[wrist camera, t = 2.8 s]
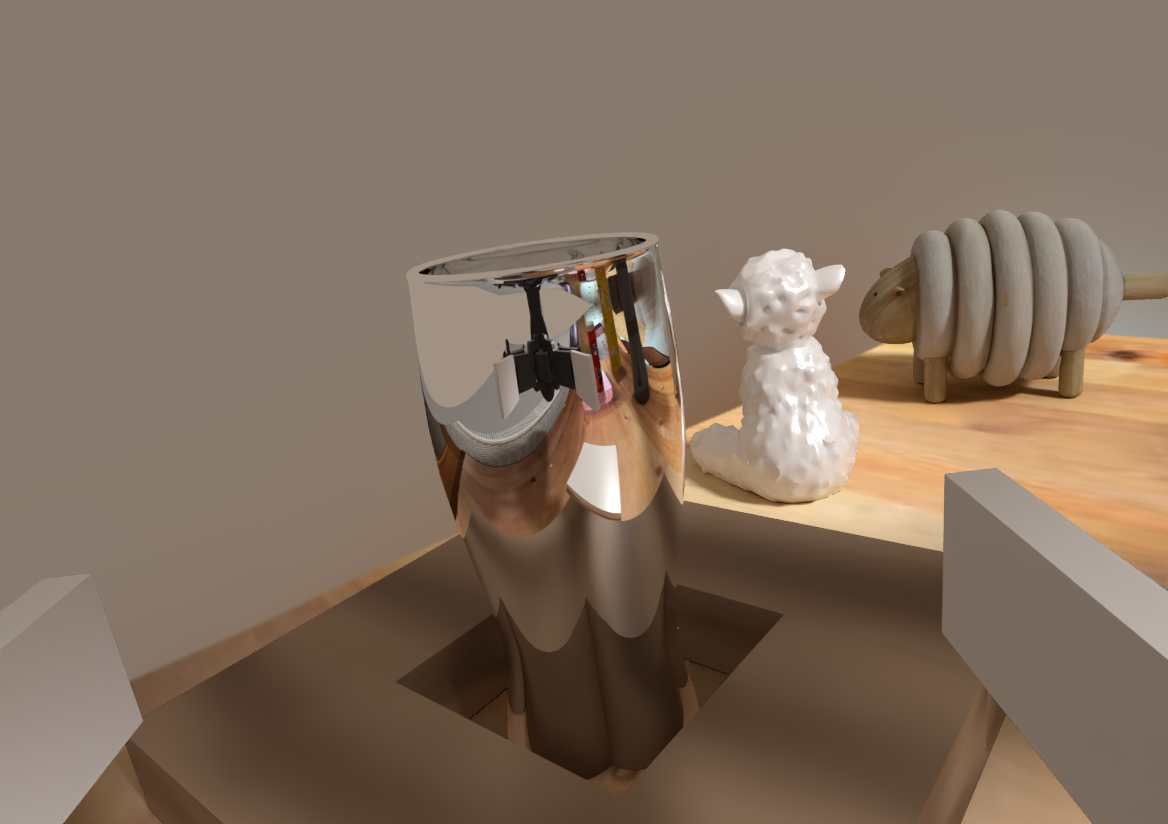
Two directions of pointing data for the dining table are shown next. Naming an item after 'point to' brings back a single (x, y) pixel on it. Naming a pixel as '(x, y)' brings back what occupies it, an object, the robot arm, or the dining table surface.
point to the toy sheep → (1003, 300)
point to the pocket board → (553, 794)
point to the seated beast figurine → (783, 387)
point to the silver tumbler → (567, 483)
